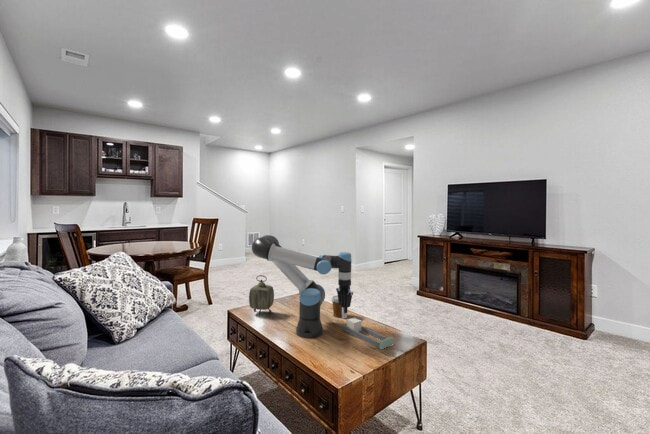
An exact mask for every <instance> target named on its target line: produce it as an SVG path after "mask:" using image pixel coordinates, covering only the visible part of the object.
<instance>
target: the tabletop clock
mask: <svg viewBox="0 0 650 434" xmlns="http://www.w3.org/2000/svg"><path fill="white" fill-rule="evenodd" d="M258 277H263V278H265V280H263V279H258ZM255 279H256V281H257V282H258V283H257V284H255V285H253V286H252V287H251V288H250V289H249V293H248V302H249V303H248V304H249V307H250V308H251V309H253V312H256V311H257V310H259V312H258V315H262V311H264V310H265V311H266V310H268V312H269V313H272V310H271V309H270V308H271V307H272V306H273V304H274V301H275V292H274V291H275V290H274V287H273V286H272V285H271V284H270V285H269V284H266V283H265V282H266V281H267V276H266V275H257V276H256V278H255Z"/></svg>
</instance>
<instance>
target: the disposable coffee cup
mask: <svg viewBox="0 0 650 434" xmlns="http://www.w3.org/2000/svg"><path fill="white" fill-rule="evenodd" d="M331 302H332V313H333V316H334V317H335V318H342V312H341V305H339V301H338V294H337V295H332V297H331ZM340 303H341V302H340Z"/></svg>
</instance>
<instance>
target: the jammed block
mask: <svg viewBox="0 0 650 434" xmlns="http://www.w3.org/2000/svg"><path fill="white" fill-rule="evenodd" d="M346 326H347V327H349V328H351V329H353V330H355V331H357V332H359V333H361V332H362V331H361V327H362V326H363V323H362V319H359V318H357V317H351V318H346Z"/></svg>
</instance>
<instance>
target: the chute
mask: <svg viewBox="0 0 650 434" xmlns="http://www.w3.org/2000/svg"><path fill="white" fill-rule="evenodd" d="M341 330H342V331H344V332H346V333H348V334H351V335H352V336H355V337H356V338H358V339H359V340H362V341H364V342H365V343H367V344H370V345H371V346H373V345H374V347H375V346H376V348H377V347H378V348H377V349H379V348H380V350H381V349H383V350H385V349H387V348H386V347H388V346H390V345H392V344H393V345H394V337H392V336H389V337H386V336H385V335H382V334H380V333H378V332H376V331H374V330H371V329H369V328H367V327H365V326H363V325H362V327H361V331H360V332H357V331H355V330H353V329H351V328H349V327H347V325H345V324H341ZM362 331H363V333H364V332H365V334H366V335H365V334H363V333H361V332H362ZM367 335H369V336H367ZM370 336H371V337H373V338H375V339H377V338H378V339H377V340H379V339H380V340H379V341H377V340H375V339H373V338H371V337H370ZM393 345H392V346H393ZM390 347H391V346H390ZM384 348H385V349H384ZM388 348H389V347H388Z"/></svg>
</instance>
